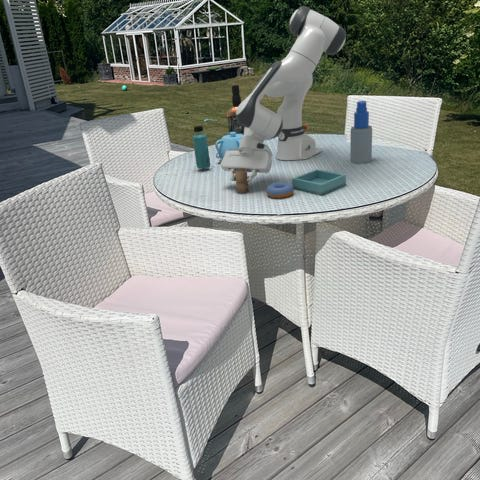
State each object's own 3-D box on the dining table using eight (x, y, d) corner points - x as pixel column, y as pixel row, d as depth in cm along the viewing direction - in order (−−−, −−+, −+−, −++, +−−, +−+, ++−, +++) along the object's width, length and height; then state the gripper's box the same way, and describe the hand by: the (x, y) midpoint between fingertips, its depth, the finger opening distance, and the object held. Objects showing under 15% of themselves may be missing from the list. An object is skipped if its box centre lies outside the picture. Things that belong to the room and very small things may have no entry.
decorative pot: (212, 164, 214) (208, 136, 209) (229, 155, 227) (226, 128, 221) (242, 165, 207) (239, 136, 201) (257, 156, 219) (255, 128, 213)
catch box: (317, 179, 177) (316, 169, 176) (345, 185, 167) (345, 174, 166) (292, 188, 170) (292, 178, 168) (321, 195, 160) (321, 185, 158)
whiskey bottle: (252, 145, 242) (247, 83, 229) (248, 150, 233) (242, 85, 220) (233, 146, 245) (227, 84, 231) (229, 150, 236) (222, 87, 223)
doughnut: (261, 197, 164) (261, 185, 162) (274, 190, 172) (275, 178, 170) (284, 202, 159) (285, 190, 157) (297, 195, 167) (298, 183, 165)
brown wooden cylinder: (243, 188, 175) (241, 169, 172) (251, 191, 172) (249, 170, 169) (234, 192, 173) (232, 172, 169) (242, 194, 170) (240, 173, 166)
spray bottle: (351, 158, 200) (352, 100, 190) (372, 157, 197) (373, 99, 187) (349, 163, 193) (349, 103, 182) (370, 163, 190) (372, 102, 179)
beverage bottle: (209, 171, 202) (203, 127, 194) (195, 172, 204) (188, 128, 196) (212, 167, 208) (207, 124, 200) (199, 168, 210) (193, 125, 201)
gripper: (223, 144, 176) (213, 175, 172) (271, 145, 167) (262, 178, 163) (230, 152, 181) (220, 183, 178) (276, 154, 172) (267, 186, 168)
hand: (241, 181), depth 170 cm, fingers open, 5 cm apart
